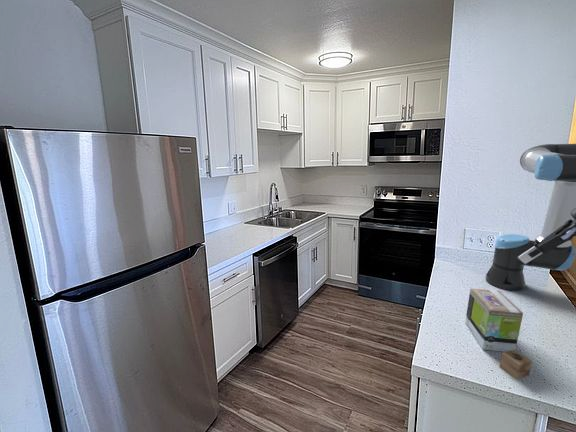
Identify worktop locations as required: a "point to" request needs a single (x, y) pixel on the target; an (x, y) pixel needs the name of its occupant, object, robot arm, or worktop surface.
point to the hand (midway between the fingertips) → (522, 260)
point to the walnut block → (515, 364)
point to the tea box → (493, 320)
